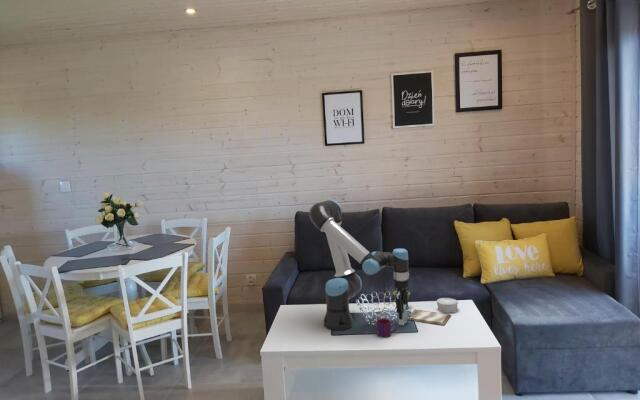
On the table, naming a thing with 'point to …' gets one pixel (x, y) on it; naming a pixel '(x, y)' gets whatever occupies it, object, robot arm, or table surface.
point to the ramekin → (447, 305)
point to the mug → (384, 327)
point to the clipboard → (429, 317)
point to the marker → (404, 314)
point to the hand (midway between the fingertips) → (402, 323)
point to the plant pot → (396, 294)
